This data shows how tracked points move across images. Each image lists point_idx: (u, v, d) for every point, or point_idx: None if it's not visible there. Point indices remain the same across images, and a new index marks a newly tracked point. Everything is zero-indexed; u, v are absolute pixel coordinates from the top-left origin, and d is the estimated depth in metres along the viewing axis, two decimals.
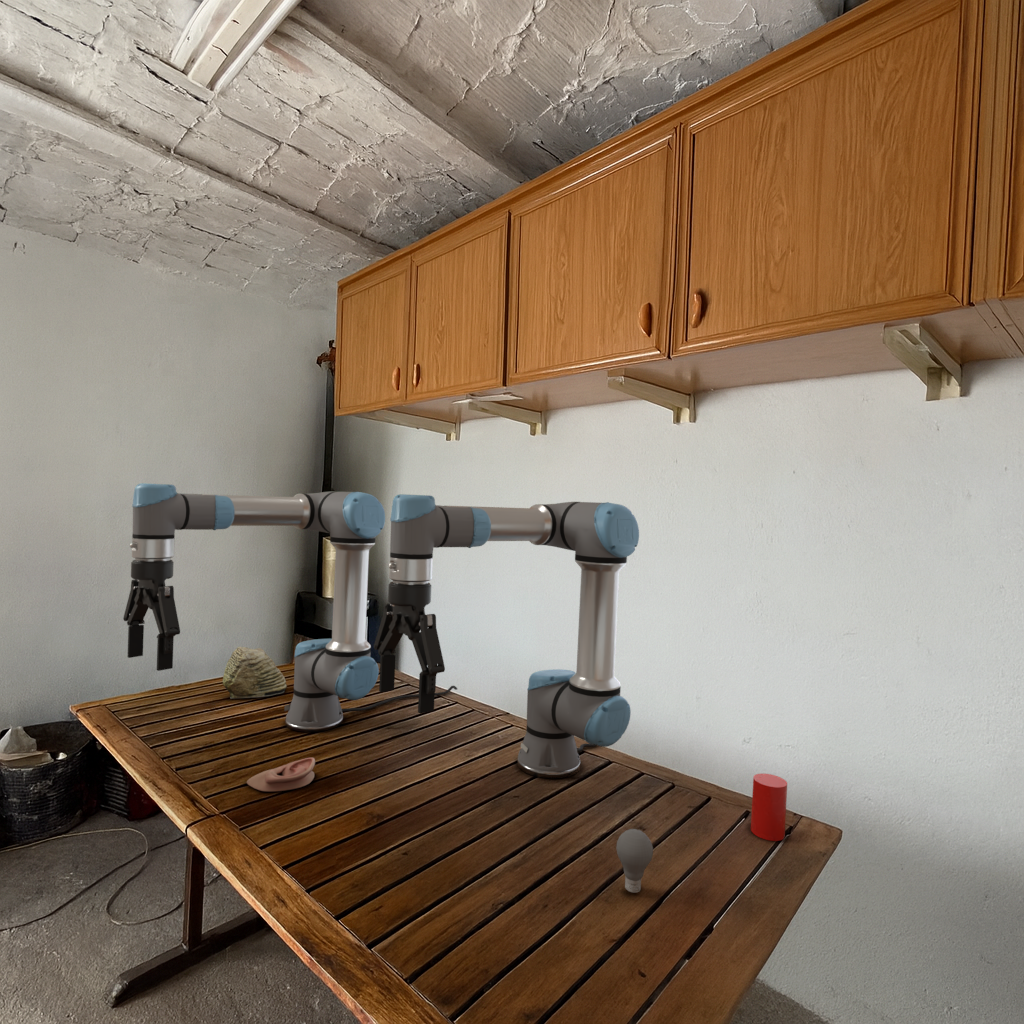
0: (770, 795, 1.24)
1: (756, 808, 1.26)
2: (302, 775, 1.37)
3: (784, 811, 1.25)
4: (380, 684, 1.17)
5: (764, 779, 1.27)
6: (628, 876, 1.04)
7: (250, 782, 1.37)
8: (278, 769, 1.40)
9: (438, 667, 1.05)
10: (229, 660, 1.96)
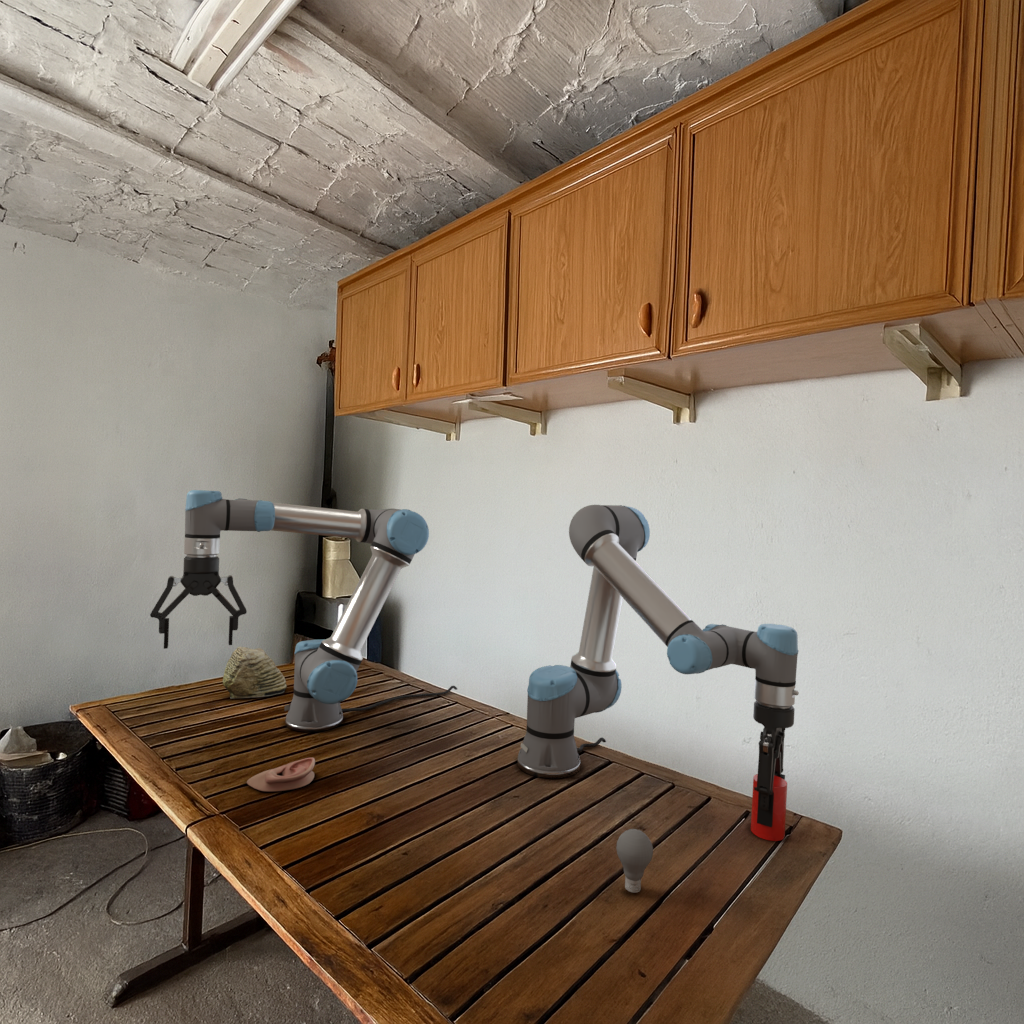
0: None
1: (756, 808, 1.26)
2: (302, 775, 1.37)
3: (784, 811, 1.25)
4: (772, 819, 1.23)
5: None
6: (628, 876, 1.04)
7: (250, 782, 1.37)
8: (278, 769, 1.40)
9: None
10: (229, 660, 1.96)
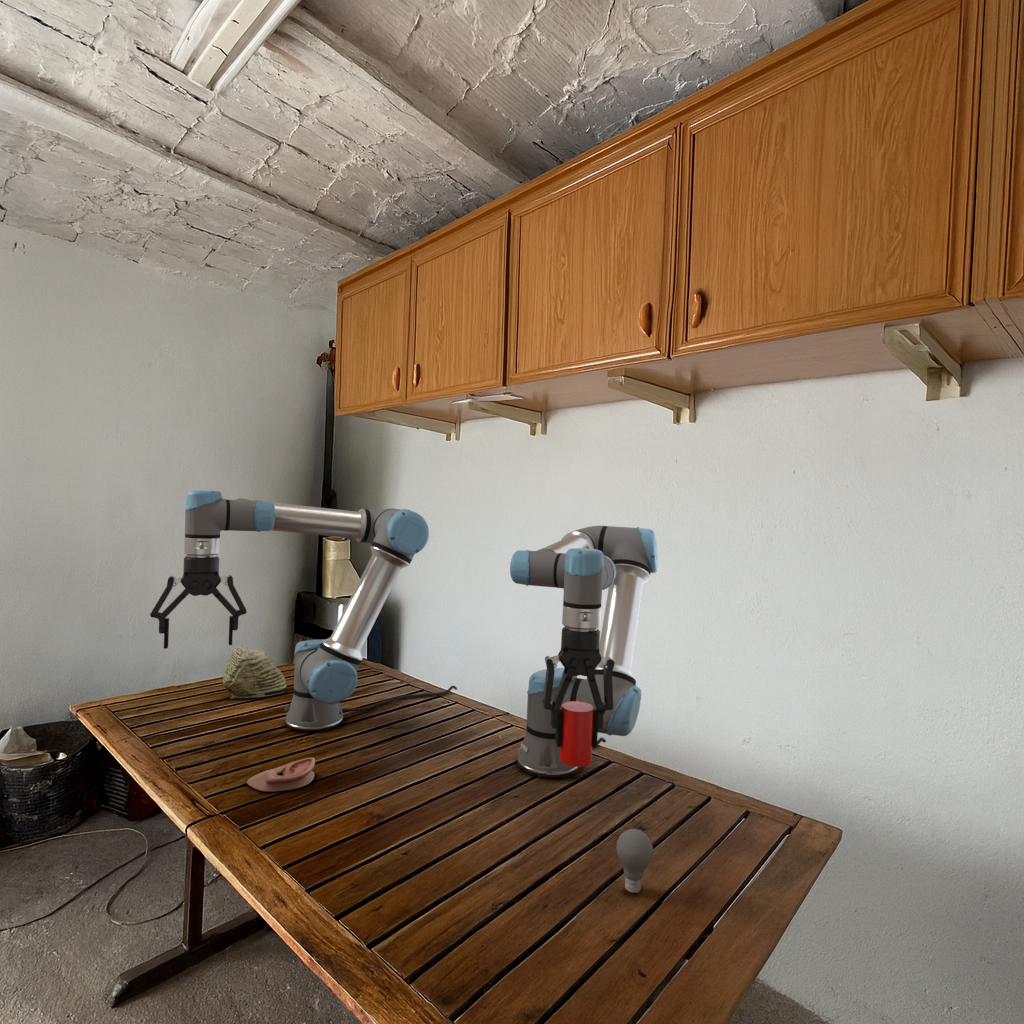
0: None
1: None
2: (302, 775, 1.37)
3: (576, 738, 1.21)
4: (559, 740, 1.23)
5: (575, 704, 1.25)
6: (628, 876, 1.04)
7: (250, 782, 1.37)
8: (278, 769, 1.40)
9: None
10: (229, 660, 1.96)
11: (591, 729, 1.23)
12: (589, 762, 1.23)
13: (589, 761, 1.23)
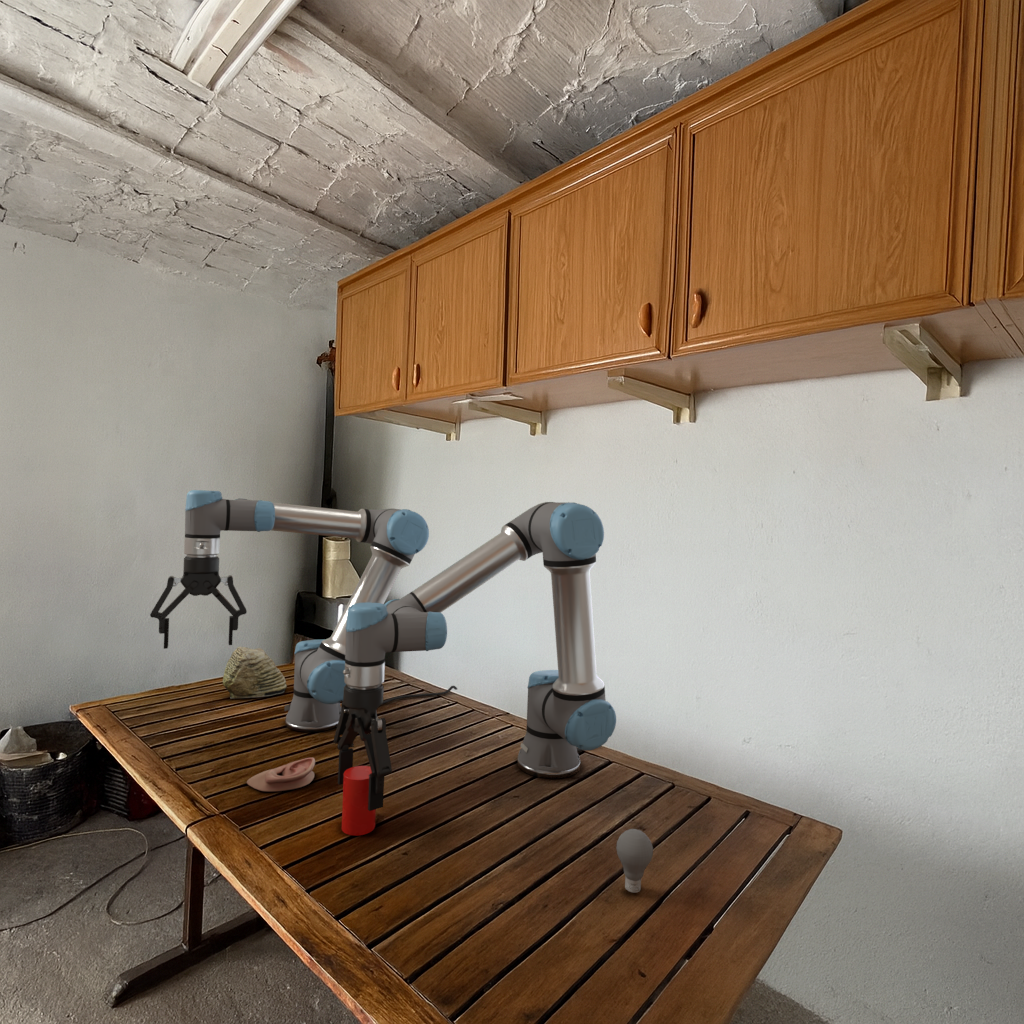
0: None
1: None
2: (302, 775, 1.37)
3: (343, 801, 1.21)
4: (339, 777, 1.26)
5: (364, 770, 1.23)
6: (628, 876, 1.04)
7: (250, 782, 1.37)
8: (278, 769, 1.40)
9: (385, 770, 1.15)
10: (229, 660, 1.96)
11: (356, 800, 1.19)
12: (354, 833, 1.19)
13: (353, 832, 1.19)
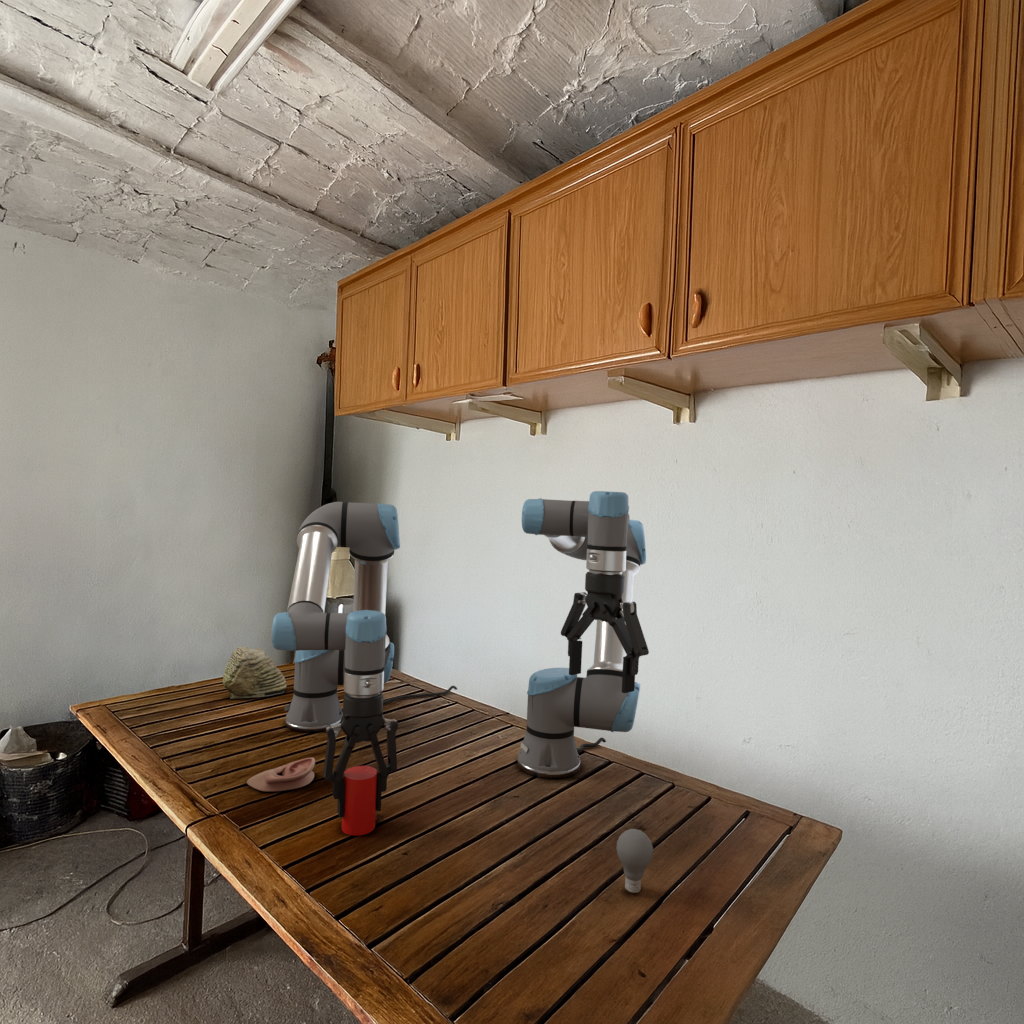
0: None
1: None
2: (302, 775, 1.37)
3: None
4: (570, 668, 1.26)
5: (364, 770, 1.23)
6: (628, 876, 1.04)
7: (250, 782, 1.37)
8: (278, 769, 1.40)
9: (644, 650, 1.14)
10: (229, 660, 1.96)
11: (356, 800, 1.19)
12: (354, 833, 1.19)
13: (353, 832, 1.19)
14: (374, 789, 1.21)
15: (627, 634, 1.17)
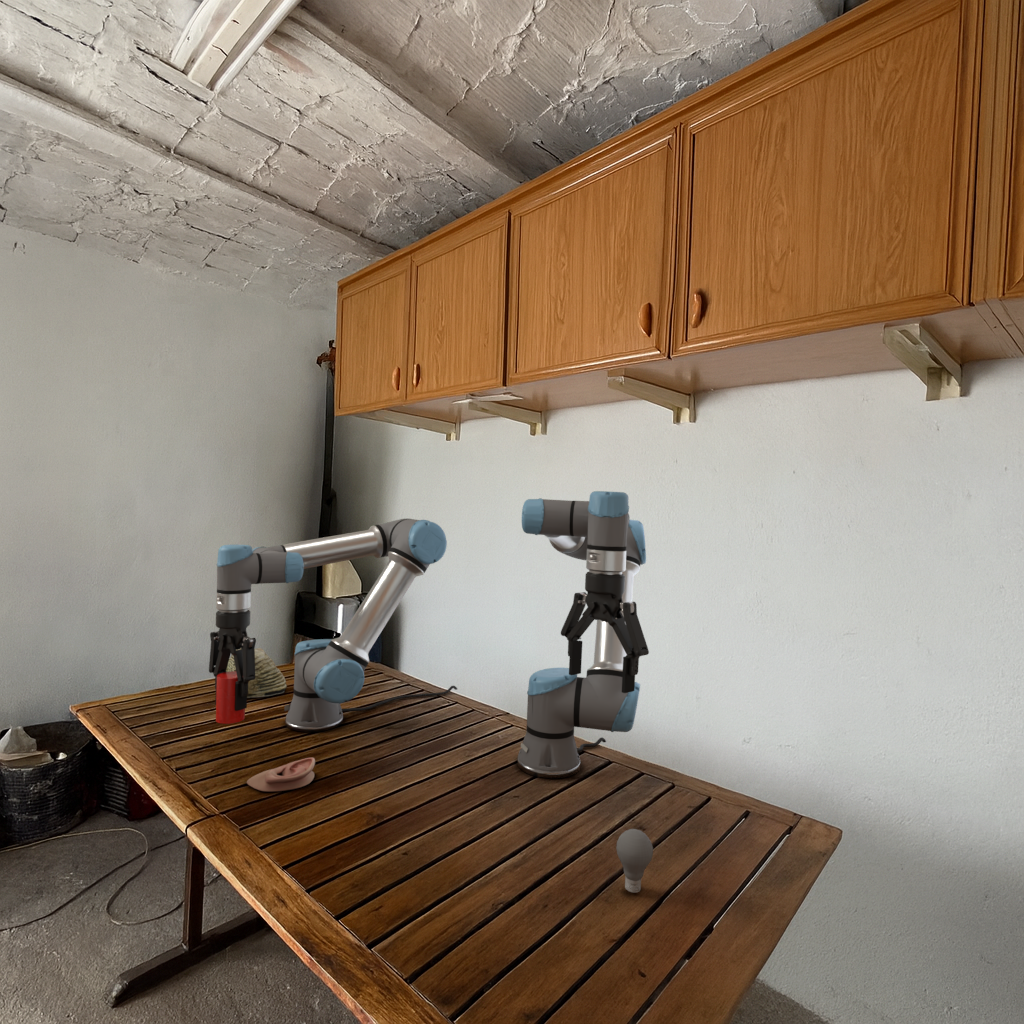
0: None
1: None
2: (302, 775, 1.37)
3: None
4: (570, 668, 1.26)
5: (235, 675, 1.51)
6: (628, 876, 1.04)
7: (250, 782, 1.37)
8: (278, 769, 1.40)
9: (644, 650, 1.14)
10: (229, 660, 1.96)
11: (217, 693, 1.49)
12: (216, 719, 1.49)
13: (216, 718, 1.49)
14: (229, 690, 1.48)
15: (627, 634, 1.17)
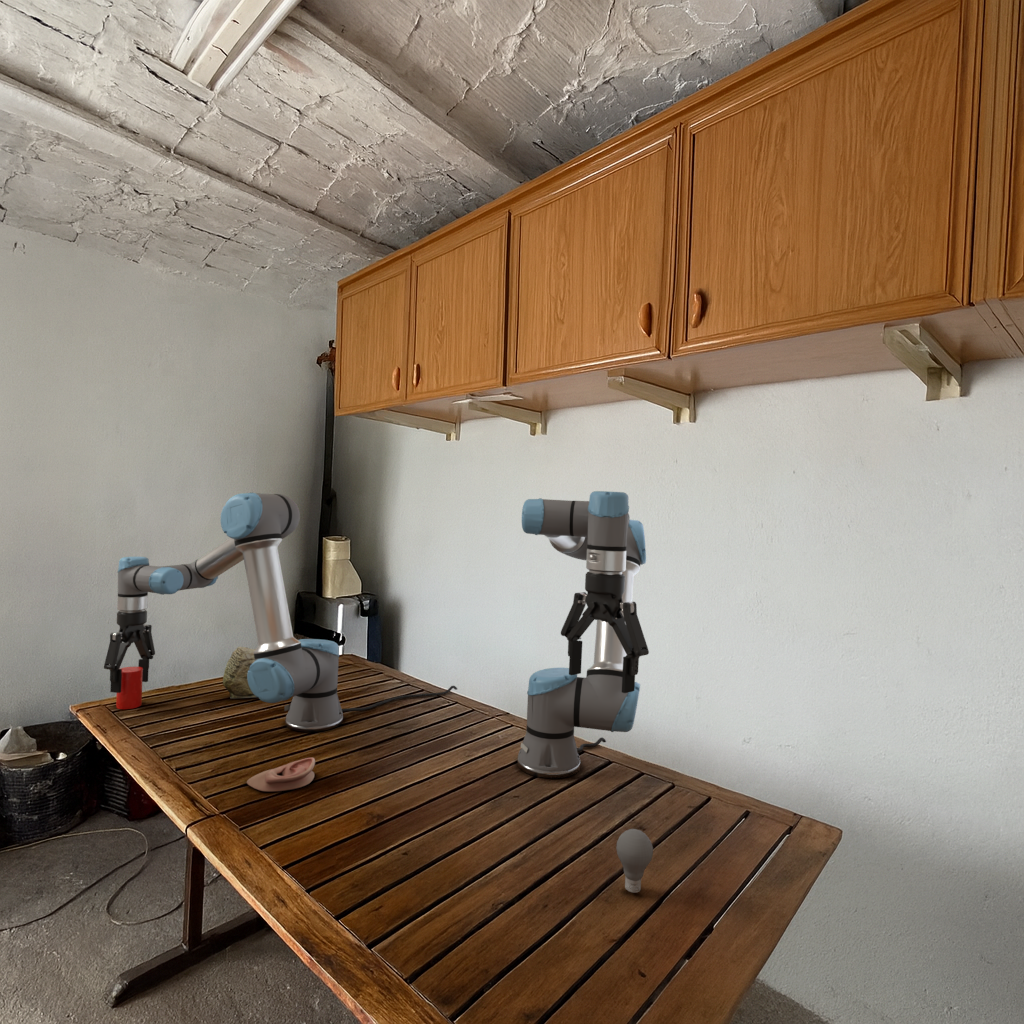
0: (142, 674, 1.84)
1: (135, 690, 1.82)
2: (302, 775, 1.37)
3: None
4: (570, 668, 1.26)
5: (129, 670, 1.82)
6: (628, 876, 1.04)
7: (250, 782, 1.37)
8: (278, 769, 1.40)
9: (644, 650, 1.14)
10: (229, 660, 1.96)
11: None
12: None
13: None
14: None
15: (627, 634, 1.17)
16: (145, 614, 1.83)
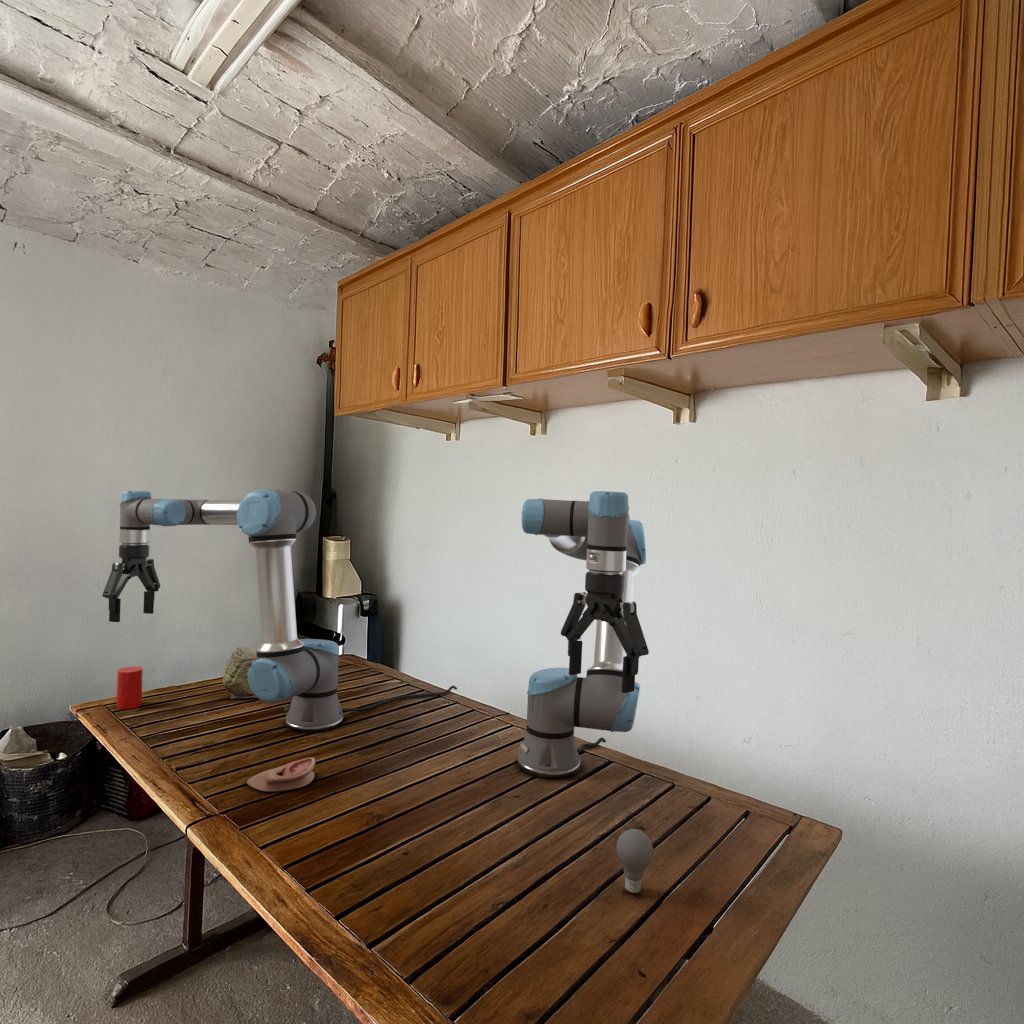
0: (142, 674, 1.84)
1: (135, 690, 1.82)
2: (302, 775, 1.37)
3: None
4: (570, 668, 1.26)
5: (129, 670, 1.82)
6: (628, 876, 1.04)
7: (250, 782, 1.37)
8: (278, 769, 1.40)
9: (644, 650, 1.14)
10: (229, 660, 1.96)
11: None
12: None
13: None
14: (117, 680, 1.81)
15: (627, 634, 1.17)
16: (147, 548, 1.83)
